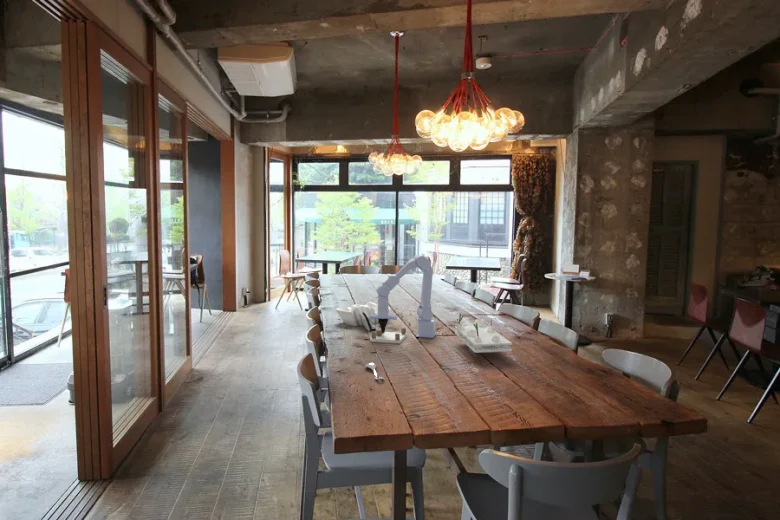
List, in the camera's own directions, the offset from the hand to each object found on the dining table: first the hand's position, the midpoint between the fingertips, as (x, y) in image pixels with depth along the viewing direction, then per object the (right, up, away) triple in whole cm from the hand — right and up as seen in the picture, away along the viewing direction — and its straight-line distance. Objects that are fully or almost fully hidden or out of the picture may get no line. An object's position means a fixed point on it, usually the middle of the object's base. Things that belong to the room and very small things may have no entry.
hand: (383, 332), depth 251 cm
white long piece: (-3, -9, -57) cm, 58 cm away
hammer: (-2, -1, +3) cm, 4 cm away
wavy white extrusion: (-12, 0, +39) cm, 41 cm away
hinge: (-10, -1, +24) cm, 26 cm away
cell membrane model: (+46, -5, -25) cm, 52 cm away
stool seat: (+3, -3, -1) cm, 4 cm away
